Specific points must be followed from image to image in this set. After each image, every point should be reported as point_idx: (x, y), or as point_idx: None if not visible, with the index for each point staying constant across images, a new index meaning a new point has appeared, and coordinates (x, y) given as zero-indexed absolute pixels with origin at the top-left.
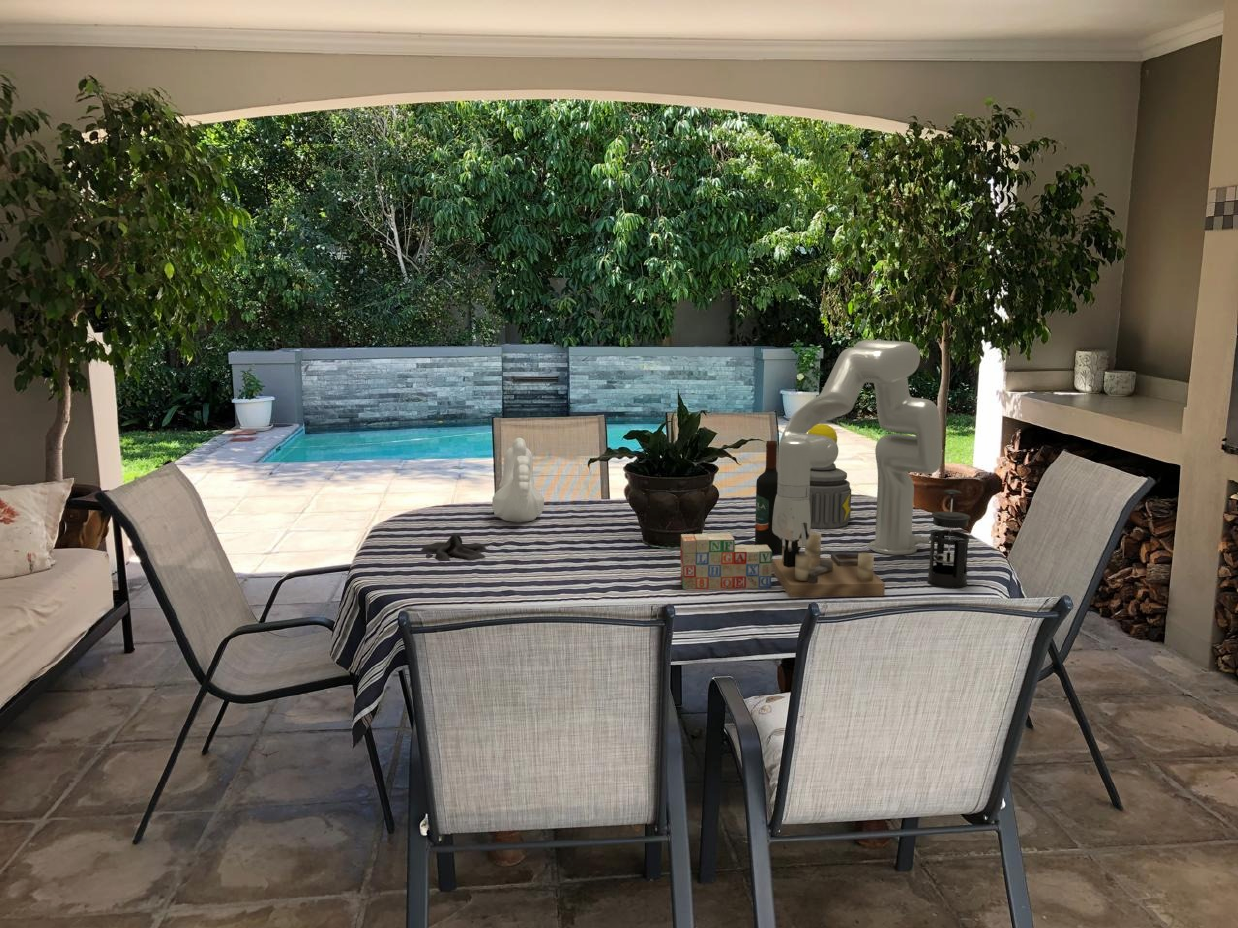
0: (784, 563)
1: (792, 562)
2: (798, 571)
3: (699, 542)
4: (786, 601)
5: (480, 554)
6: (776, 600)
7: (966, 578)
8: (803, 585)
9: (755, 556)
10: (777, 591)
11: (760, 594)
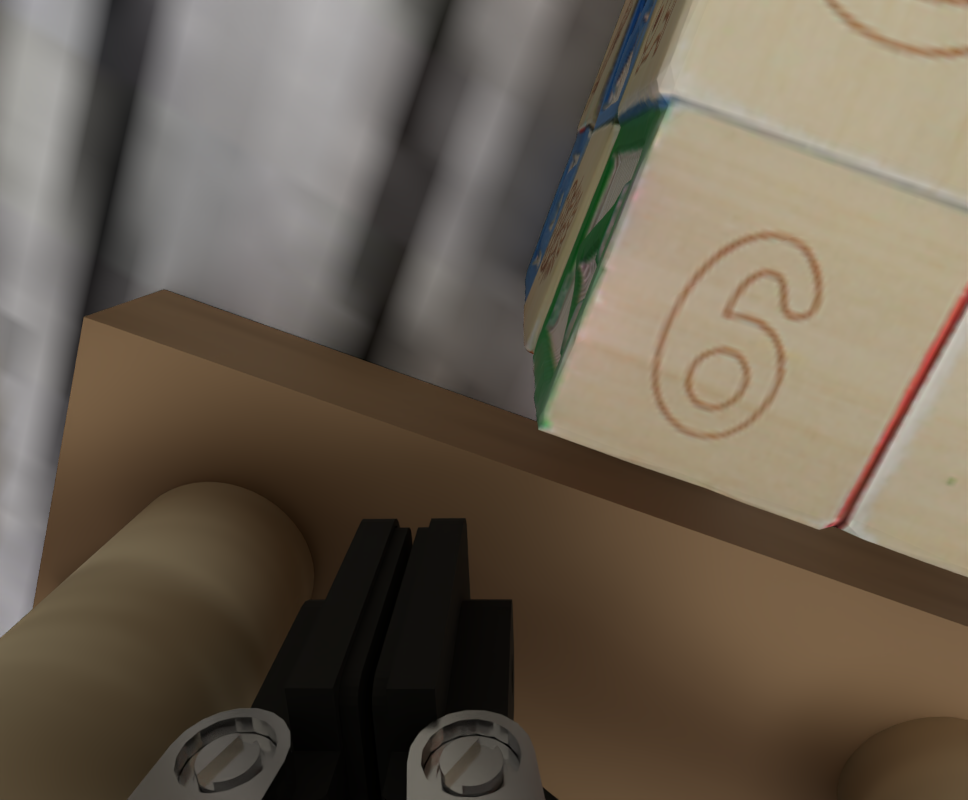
0: (430, 532)
1: (303, 619)
2: (109, 543)
3: None
4: (33, 183)
5: None
6: (88, 92)
7: None
8: (61, 468)
9: (672, 2)
10: (388, 280)
11: (348, 26)
